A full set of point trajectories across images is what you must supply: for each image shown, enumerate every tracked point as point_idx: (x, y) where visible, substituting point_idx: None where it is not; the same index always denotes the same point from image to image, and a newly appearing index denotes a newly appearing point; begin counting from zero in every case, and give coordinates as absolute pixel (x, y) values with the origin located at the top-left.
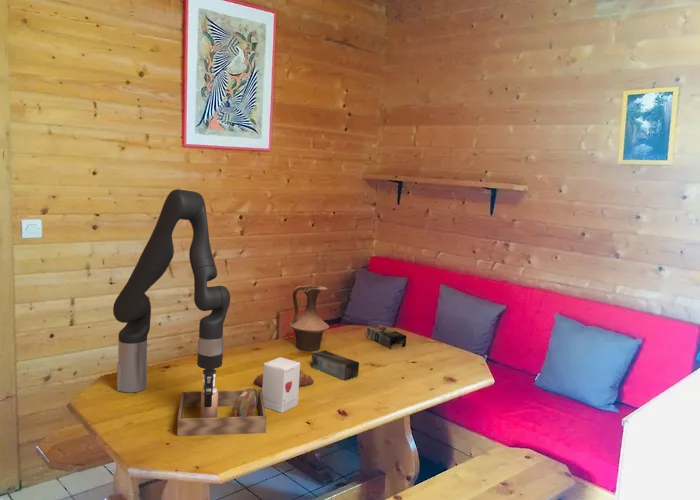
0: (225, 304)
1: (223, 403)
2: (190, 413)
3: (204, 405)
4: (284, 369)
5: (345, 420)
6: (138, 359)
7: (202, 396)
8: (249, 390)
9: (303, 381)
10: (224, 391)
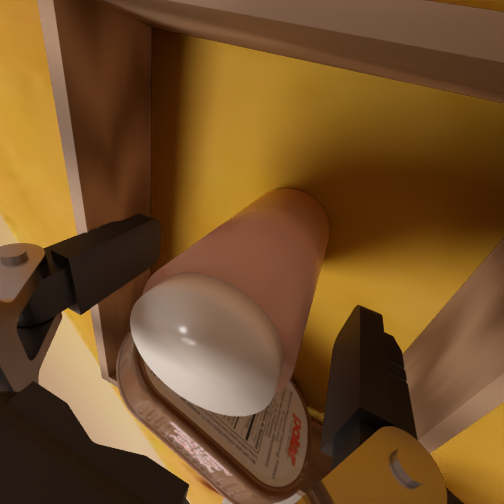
0: None
1: (411, 360)
2: (424, 153)
3: (136, 216)
4: None
5: (181, 466)
6: None
7: (197, 249)
8: (230, 489)
9: None
10: (432, 437)
